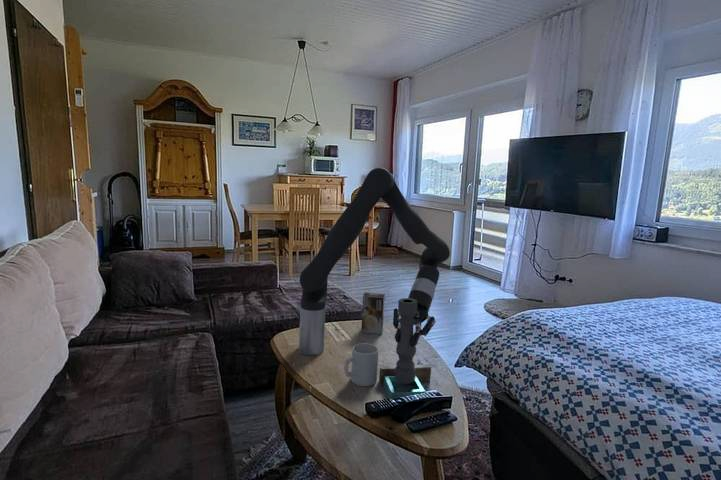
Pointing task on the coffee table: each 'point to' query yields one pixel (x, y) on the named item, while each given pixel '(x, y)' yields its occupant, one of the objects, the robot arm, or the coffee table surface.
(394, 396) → the frame
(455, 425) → the coffee table surface
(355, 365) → the mug
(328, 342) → the coffee table surface
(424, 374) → the door edge rail
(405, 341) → the candle holder
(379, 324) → the coffee box
